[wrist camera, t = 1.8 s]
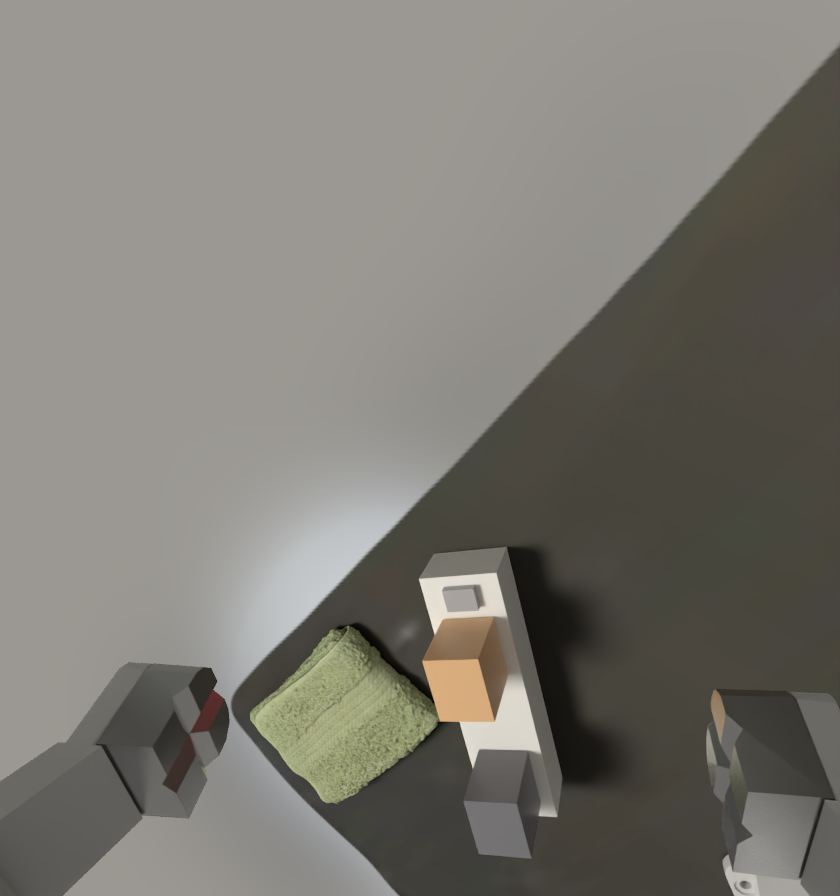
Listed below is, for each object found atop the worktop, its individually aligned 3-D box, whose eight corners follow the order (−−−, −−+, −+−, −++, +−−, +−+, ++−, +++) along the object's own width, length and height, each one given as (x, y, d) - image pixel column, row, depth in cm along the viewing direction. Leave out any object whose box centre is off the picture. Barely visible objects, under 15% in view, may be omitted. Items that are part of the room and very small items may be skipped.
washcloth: (250, 706, 65) (232, 729, 62) (348, 610, 57) (332, 631, 54) (346, 795, 64) (332, 822, 62) (457, 711, 57) (447, 738, 54)
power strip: (562, 777, 55) (556, 823, 51) (494, 774, 57) (483, 818, 53) (506, 546, 49) (494, 576, 45) (434, 553, 51) (416, 582, 47)
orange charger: (513, 657, 50) (494, 722, 44) (464, 659, 51) (440, 721, 45) (499, 601, 49) (478, 659, 42) (449, 604, 50) (422, 660, 44)
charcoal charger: (544, 781, 53) (531, 858, 47) (497, 779, 54) (478, 853, 48) (531, 731, 52) (516, 803, 45) (484, 730, 53) (463, 800, 47)
